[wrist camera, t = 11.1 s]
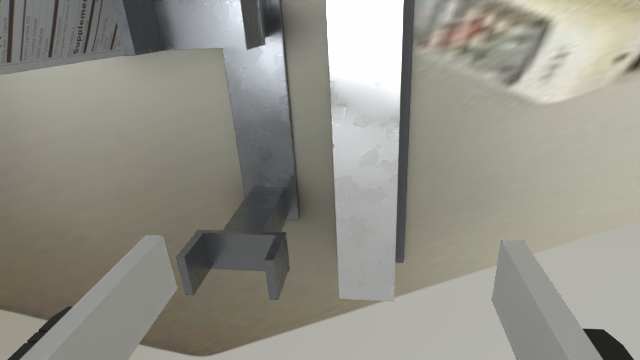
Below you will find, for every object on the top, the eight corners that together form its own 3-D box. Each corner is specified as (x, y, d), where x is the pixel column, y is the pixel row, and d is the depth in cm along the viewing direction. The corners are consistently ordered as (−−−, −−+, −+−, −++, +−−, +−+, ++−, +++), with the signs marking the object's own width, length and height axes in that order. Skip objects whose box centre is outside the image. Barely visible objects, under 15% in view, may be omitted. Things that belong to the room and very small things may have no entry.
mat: (338, 256, 38) (337, 260, 37) (324, -57, 27) (323, -58, 26) (403, 259, 37) (403, 262, 36) (416, -65, 26) (417, -66, 25)
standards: (241, 215, 37) (185, 299, 26) (206, -9, 29) (104, -21, 18) (308, 217, 36) (279, 304, 25) (291, -15, 28) (237, -32, 17)
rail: (344, 256, 37) (339, 298, 31) (334, -51, 26) (323, -67, 21) (391, 258, 36) (393, 301, 31) (399, -56, 26) (405, -75, 20)
